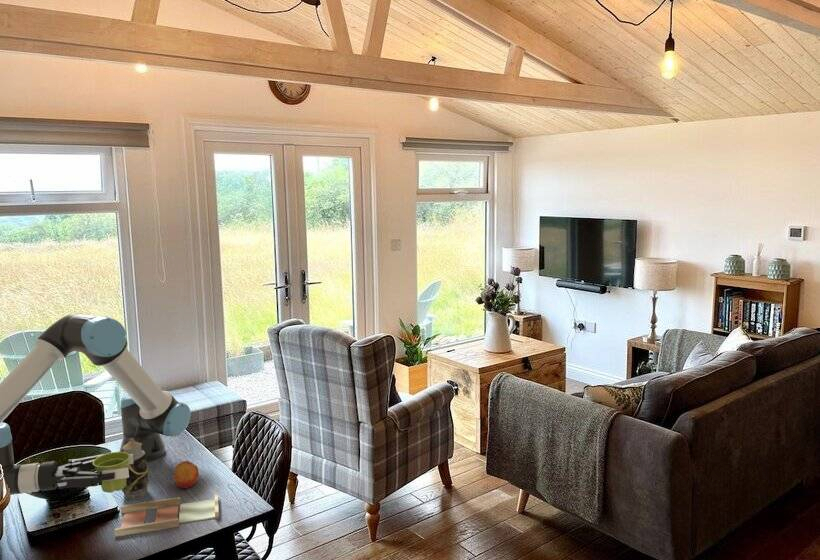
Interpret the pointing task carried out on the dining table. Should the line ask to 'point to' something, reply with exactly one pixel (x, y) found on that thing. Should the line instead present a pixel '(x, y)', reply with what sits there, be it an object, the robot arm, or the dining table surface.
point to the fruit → (185, 474)
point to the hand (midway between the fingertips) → (130, 465)
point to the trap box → (165, 514)
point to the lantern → (135, 470)
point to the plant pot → (112, 462)
